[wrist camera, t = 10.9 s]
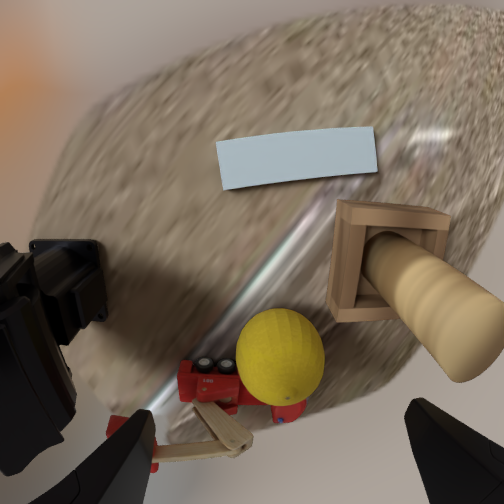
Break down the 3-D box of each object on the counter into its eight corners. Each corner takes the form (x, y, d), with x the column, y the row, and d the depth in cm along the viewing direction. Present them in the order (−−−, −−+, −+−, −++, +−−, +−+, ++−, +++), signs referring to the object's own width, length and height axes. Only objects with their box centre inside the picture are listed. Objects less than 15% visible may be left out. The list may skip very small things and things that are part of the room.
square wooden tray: (325, 301, 22) (336, 322, 19) (337, 199, 20) (352, 207, 17) (410, 298, 22) (428, 316, 19) (428, 207, 20) (450, 216, 17)
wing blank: (224, 188, 19) (223, 190, 18) (216, 142, 18) (215, 141, 17) (372, 170, 19) (377, 171, 18) (367, 127, 18) (372, 126, 17)
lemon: (311, 286, 22) (344, 353, 14) (308, 348, 23) (332, 423, 16) (233, 291, 21) (230, 363, 14) (239, 354, 23) (239, 432, 16)
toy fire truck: (299, 386, 25) (320, 477, 16) (143, 379, 24) (113, 466, 15) (305, 357, 24) (333, 452, 14) (137, 349, 23) (99, 439, 14)
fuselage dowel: (349, 271, 20) (430, 375, 10) (377, 220, 19) (488, 289, 9) (390, 292, 21) (474, 387, 10) (417, 245, 20) (522, 317, 9)
